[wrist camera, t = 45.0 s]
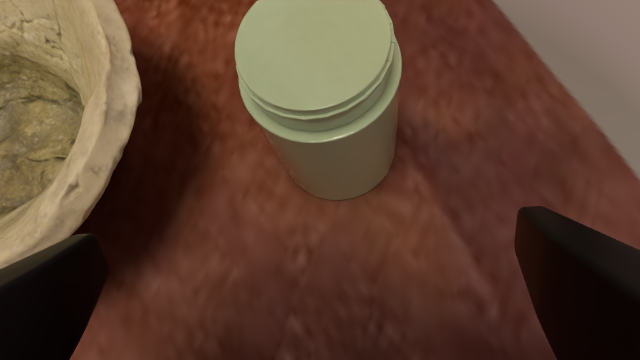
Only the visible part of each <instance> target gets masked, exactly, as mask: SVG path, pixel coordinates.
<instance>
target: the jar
mask: <svg viewBox="0 0 640 360" xmlns="http://www.w3.org/2000/svg"><path fill="white" fill-rule="evenodd" d="M235 60H236V69H237V72H238V79H239V89H240V93H241V97H242V99H243V102H244V105H245V106H246V108H247V110H248V111H249V113H250V115H251V116H252V118H253V119H254V121H255V122H256V124H257V126H258V127H259V129H260V130H261V132H262V133H263V135H264V136H265V138H266V140H267V141H268V143H269V144H270V146H271V147H272V149H273V150H274V152H275V154H276V155H277V157H278V158H279V160H280V161H281V163H282V164H283V166H284V168H285V169H286V171H287V172H288V174H289V175H290V177H291V178H292V179H293V181H294V182H295V183H296V184H297V185H298V186H299V187H300V188H302V189H303V190H304V191H306V192H307V193H309V194H311V195H313V196H316V197H319V198H323V199H327V200H345V199H351V198H354V197H358V196H360V195H362V194H365V193H366V192H368V191H370V190H371V189H373V188H374V187H375V186H376V185H378V184H379V183H380V182H381V181H382V180H383V178H384V177H385V176H386V174H387V173H388V171H389V169H390V167H391V165H392V163H393V160H394V156H395V149H396V137H397V124H398V111H399V98H400V85H401V71H402V59H401V53H400V48H399V45H398V43H397V40H396V38H395V36H394V30H393V23H392V21H391V19H390V17H389V15H388V13H387V10H386V8H385V6H384V5H383V4H382V3H381V2H380V1H379V0H258V1H257V2H256V3H255V4H254V5H253V6H252V7H251V8H250V9H249V11H248V12H247V14H246V15H245V17H244V18H243V20H242V22H241V24H240V27H239V29H238V32H237V36H236V40H235Z"/></svg>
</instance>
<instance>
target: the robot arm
mask: <svg viewBox="0 0 640 360" xmlns="http://www.w3.org/2000/svg"><path fill="white" fill-rule="evenodd" d="M515 252H516V256H517V259H518V262H519V265H520V268H521V271H522V274H523V276H524V279H525V282H526V285H527V288H528V291H529V294H530V297H531V300H532V303H533V306H534V309H535V312H536V314H537V317H538V320H539V322H540V324H541V327H542V329H543V331H544V333H545V335H546V337H547V339H548V342H549V344H550V346H551V348H552V350H553V352H554V354H555V356H556V358H557V360H640V250H638V249H636V248H634V247H632V246H629V245H627V244H625V243H623V242H620V241H618V240H616V239H614V238H612V237H609V236H607V235H605V234H603V233H600V232H598V231H596V230H594V229H592V228H589V227H587V226H585V225H583V224H580V223H578V222H576V221H574V220H571V219H569V218H567V217H565V216H563V215H560V214H558V213H556V212H554V211H551V210H549V209H547V208H545V207H542V206H534V207H523V208H520V210H519V211H518V214H517V223H516V233H515ZM109 270H110V266H109V262H108V259H107V257H106V255H105V252H104V250H103V247H102V245H101V243H100V240H99V238H98V237H97V236H96V235H94V234H78V235H74V236H72V237H69V238H67V239H65V240H63V241H61V242H58V243H56V244H54V245H52V246H50V247H47V248H45V249H43V250H41V251H39V252H36V253H34V254H32V255H30V256H28V257H26V258H23V259H21V260H19V261H17V262H15V263H12V264H10V265H8V266H6V267H4V268H1V269H0V360H70V358H71V356H72V354H73V352H74V350H75V349H76V347H77V345H78V343H79V341H80V339H81V337H82V335H83V333H84V331H85V329H86V327H87V324H88V322H89V320H90V317H91V315H92V313H93V310H94V308H95V306H96V303H97V301H98V299H99V296H100V294H101V291H102V289H103V287H104V284H105V282H106V280H107V277H108V275H109Z"/></svg>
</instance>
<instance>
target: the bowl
mask: <svg viewBox="0 0 640 360" xmlns="http://www.w3.org/2000/svg"><path fill="white" fill-rule="evenodd" d="M141 101H142V87H141V81H140V76H139V74H138V70H137V67H136V61H135V58H134V55H133V53H132V41H131V37H130V34H129V31H128V28H127V25H126V23H125V21H124V20H123V18H122V16H121V14H120V12H119V10H118V7H117V5H116V4H115V2H114V0H0V269H1V268H4V267H6V266H8V265H10V264H12V263H15V262H17V261H19V260H21V259H23V258H26V257H28V256H30V255H32V254H34V253H36V252H39V251H41V250H43V249H45V248H47V247H50V246H52V245H54V244H56V243H58V242H61V241H63V240H65V239H67V238H69V237H70V236H71V235H72V234H73V233H74V232H75V231H76V230H77V229H78V228H79V227H80V226H81V224H82V223H83V222H84V221H85V220H86V219H87V218H88V216H89V214H90V213H91V211H92V210H93V208H94V207H95V205H96V203H97V202H98V201H99V199H100V198H101V196H102V195H103V193H104V191H105V189H106V187H107V186H108V184H109V181H110V179H111V175H112V173H113V170H114V169H115V168H116V166H117V163H118V162H119V160H120V159H121V157H122V155H123V150H124V148H125V146H126V144H127V142H128V140H129V137H130V134H131V131H132V129H133V125H134V122H135V116H136V111H137V107H138V105H139V104H140V103H141Z"/></svg>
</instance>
